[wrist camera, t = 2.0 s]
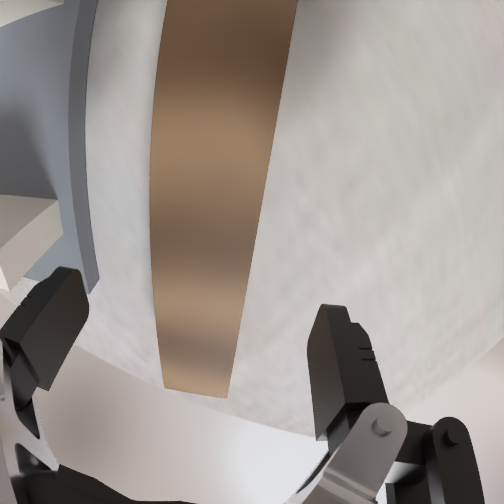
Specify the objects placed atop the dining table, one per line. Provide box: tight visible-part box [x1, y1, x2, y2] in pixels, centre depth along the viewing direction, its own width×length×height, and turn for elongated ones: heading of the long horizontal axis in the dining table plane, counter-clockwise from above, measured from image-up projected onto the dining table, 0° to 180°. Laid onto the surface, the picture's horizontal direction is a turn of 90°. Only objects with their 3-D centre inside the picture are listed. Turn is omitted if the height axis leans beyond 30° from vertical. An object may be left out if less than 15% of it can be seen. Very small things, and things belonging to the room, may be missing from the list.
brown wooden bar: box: [150, 0, 298, 399], centre depth 13 cm, size 22×4×4 cm, turn 172°
